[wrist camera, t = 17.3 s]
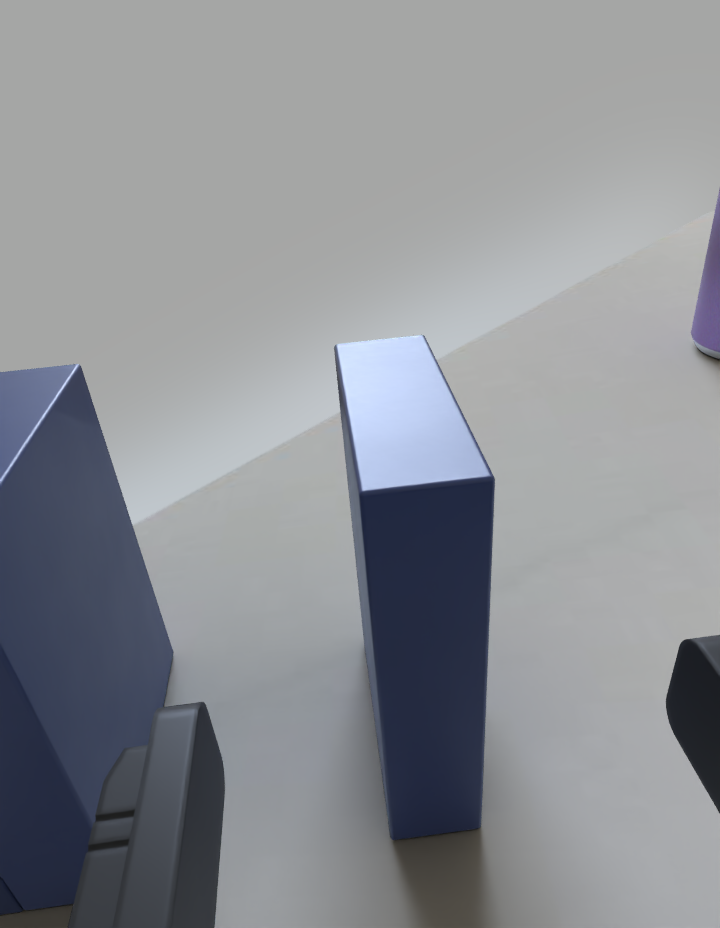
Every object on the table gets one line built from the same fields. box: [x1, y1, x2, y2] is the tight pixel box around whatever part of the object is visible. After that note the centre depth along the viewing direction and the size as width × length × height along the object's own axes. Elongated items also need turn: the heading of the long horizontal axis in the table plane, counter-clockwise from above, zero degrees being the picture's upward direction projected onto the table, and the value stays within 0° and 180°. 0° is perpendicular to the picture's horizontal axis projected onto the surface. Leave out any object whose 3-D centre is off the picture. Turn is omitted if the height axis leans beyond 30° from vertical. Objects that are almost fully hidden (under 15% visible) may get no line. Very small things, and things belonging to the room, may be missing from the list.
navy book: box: [334, 335, 495, 840], centre depth 17 cm, size 7×2×11 cm, turn 5°
